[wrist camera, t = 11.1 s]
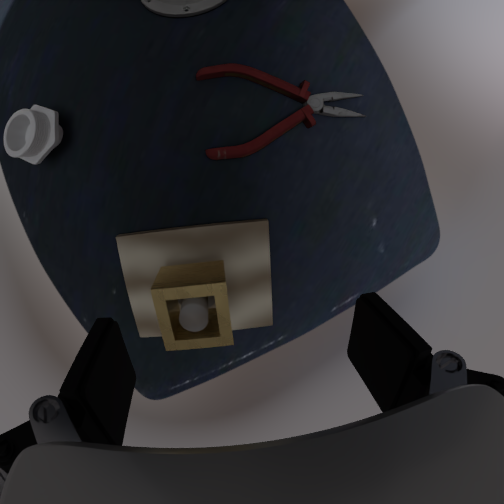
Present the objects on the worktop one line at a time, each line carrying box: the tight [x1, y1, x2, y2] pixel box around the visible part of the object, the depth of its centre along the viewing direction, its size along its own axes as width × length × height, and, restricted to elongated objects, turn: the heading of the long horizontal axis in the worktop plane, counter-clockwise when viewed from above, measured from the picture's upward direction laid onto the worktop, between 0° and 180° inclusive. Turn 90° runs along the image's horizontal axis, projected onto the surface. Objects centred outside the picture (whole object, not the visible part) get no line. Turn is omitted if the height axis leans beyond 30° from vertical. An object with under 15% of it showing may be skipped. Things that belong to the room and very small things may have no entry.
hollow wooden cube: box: [150, 260, 234, 351], centre depth 28 cm, size 7×7×6 cm
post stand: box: [116, 219, 273, 337], centre depth 30 cm, size 14×18×9 cm
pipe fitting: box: [4, 105, 63, 164], centre depth 22 cm, size 6×7×8 cm
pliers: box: [196, 63, 366, 160], centre depth 29 cm, size 12×20×3 cm, turn 97°
